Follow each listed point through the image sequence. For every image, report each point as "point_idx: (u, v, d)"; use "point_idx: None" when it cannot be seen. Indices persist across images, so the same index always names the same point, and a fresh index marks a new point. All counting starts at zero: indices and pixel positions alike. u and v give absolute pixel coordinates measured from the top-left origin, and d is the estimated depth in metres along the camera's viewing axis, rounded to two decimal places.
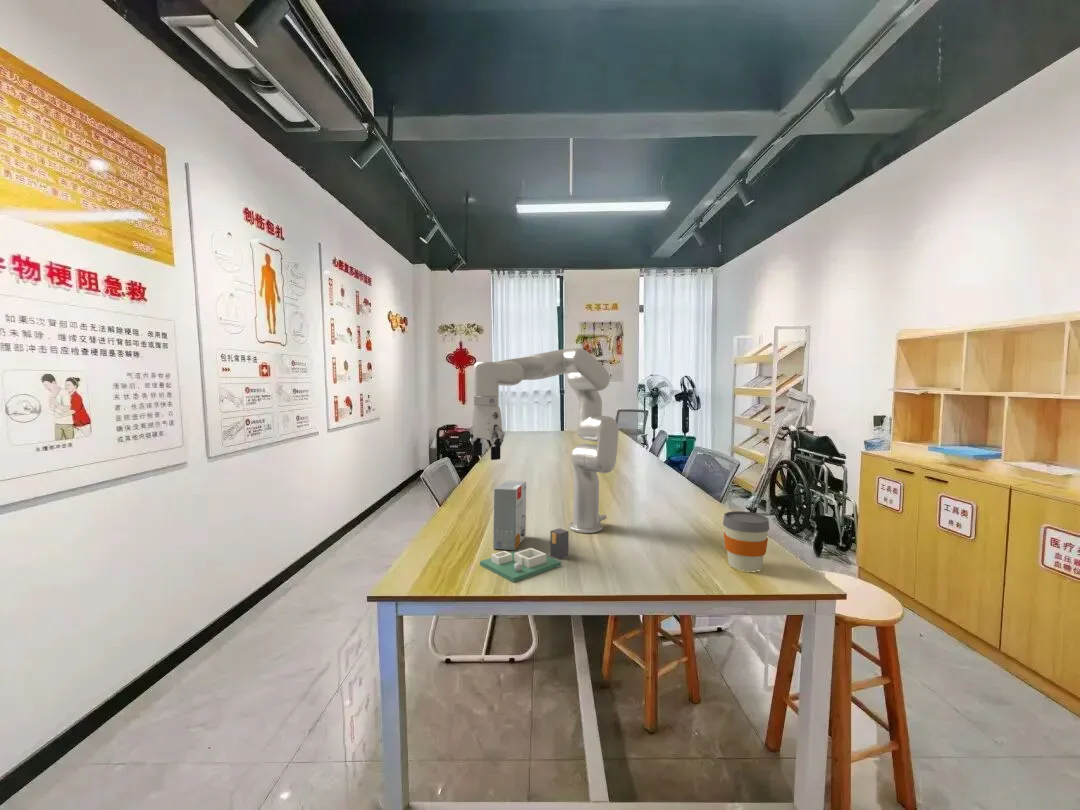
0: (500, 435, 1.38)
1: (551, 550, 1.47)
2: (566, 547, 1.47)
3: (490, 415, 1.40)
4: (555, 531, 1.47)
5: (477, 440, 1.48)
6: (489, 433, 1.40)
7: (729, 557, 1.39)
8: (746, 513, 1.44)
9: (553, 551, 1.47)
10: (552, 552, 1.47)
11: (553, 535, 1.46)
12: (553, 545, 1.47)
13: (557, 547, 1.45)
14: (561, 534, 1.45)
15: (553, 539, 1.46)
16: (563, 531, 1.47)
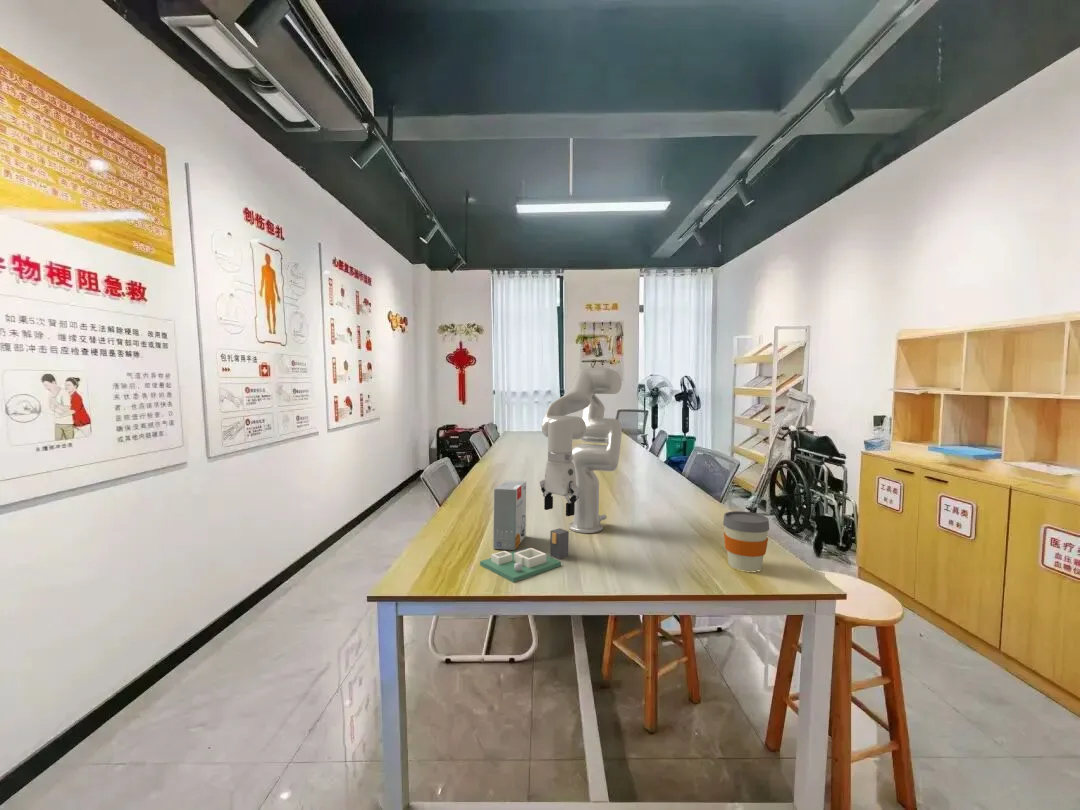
0: (576, 492, 1.40)
1: (551, 550, 1.47)
2: (566, 547, 1.47)
3: (566, 472, 1.42)
4: (555, 531, 1.47)
5: (548, 494, 1.50)
6: (565, 490, 1.42)
7: (729, 557, 1.39)
8: (746, 513, 1.44)
9: (553, 551, 1.47)
10: (552, 552, 1.47)
11: (553, 535, 1.46)
12: (553, 545, 1.47)
13: (557, 547, 1.45)
14: (561, 534, 1.45)
15: (553, 539, 1.46)
16: (563, 531, 1.47)
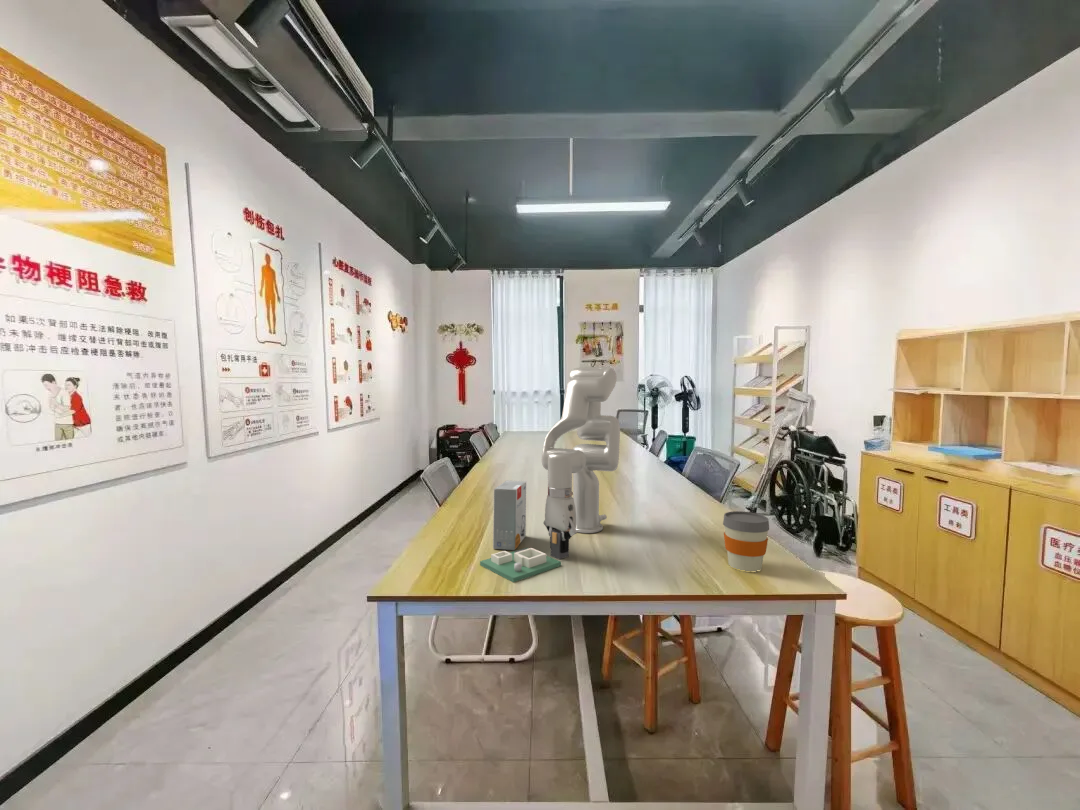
0: (572, 533, 1.42)
1: (551, 550, 1.47)
2: None
3: (566, 508, 1.42)
4: (555, 531, 1.47)
5: None
6: (565, 525, 1.42)
7: (729, 557, 1.39)
8: (746, 513, 1.44)
9: (553, 551, 1.47)
10: (552, 552, 1.47)
11: (553, 535, 1.46)
12: (553, 545, 1.47)
13: (557, 547, 1.45)
14: None
15: (553, 539, 1.46)
16: None
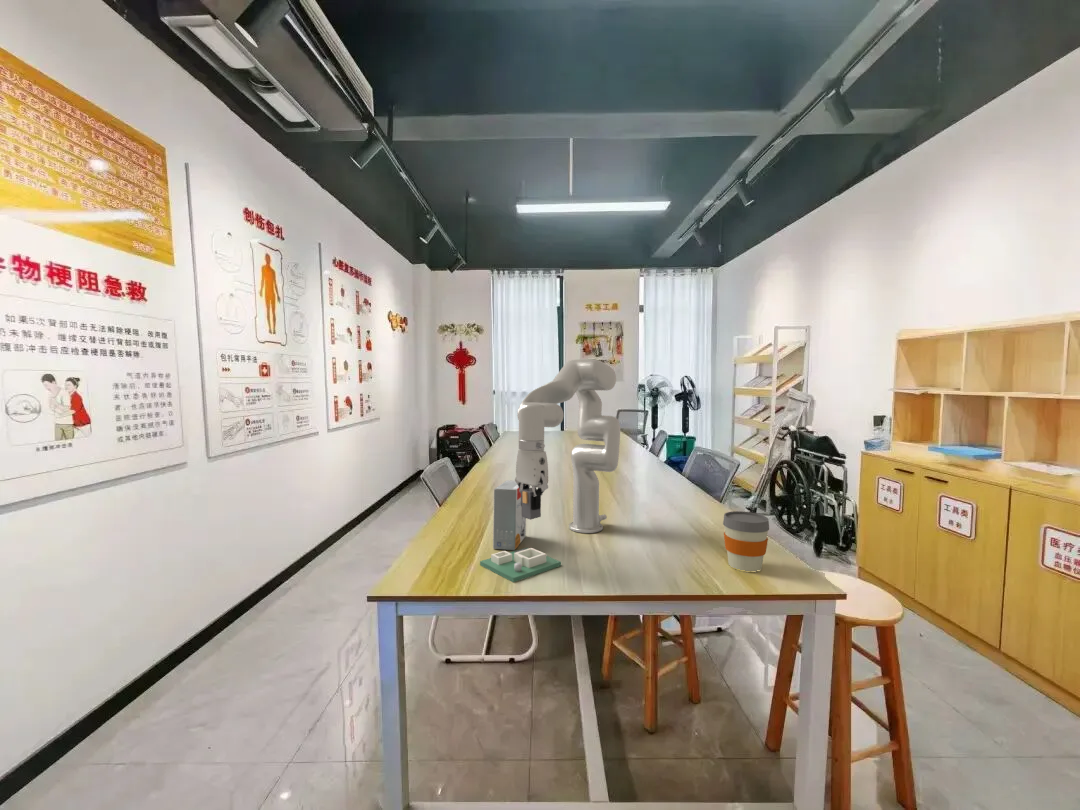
0: (543, 488, 1.34)
1: (522, 510, 1.39)
2: None
3: (537, 461, 1.34)
4: (526, 490, 1.38)
5: None
6: (536, 480, 1.34)
7: (729, 557, 1.39)
8: (746, 513, 1.44)
9: (524, 511, 1.38)
10: (523, 512, 1.38)
11: (524, 494, 1.37)
12: (524, 505, 1.38)
13: (528, 507, 1.37)
14: (532, 493, 1.36)
15: (524, 498, 1.37)
16: None
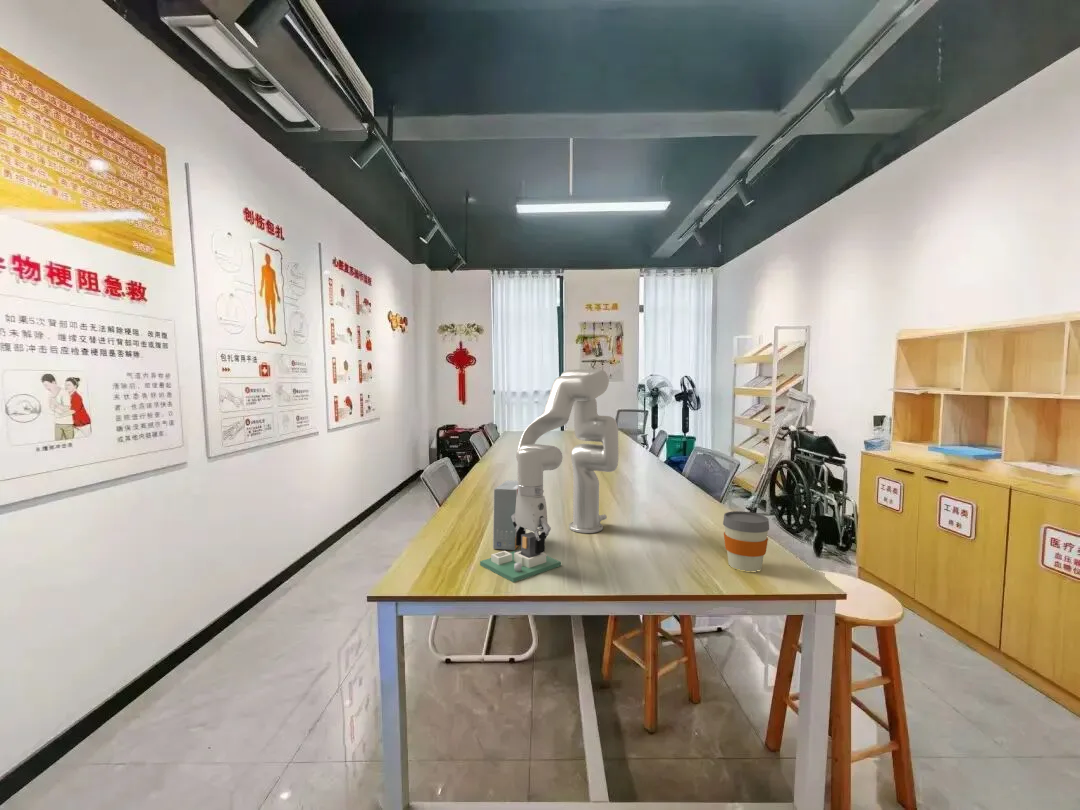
0: (546, 530, 1.33)
1: None
2: None
3: (536, 507, 1.34)
4: (526, 535, 1.39)
5: (520, 528, 1.43)
6: (535, 525, 1.34)
7: (729, 557, 1.39)
8: (746, 513, 1.44)
9: None
10: None
11: (524, 539, 1.38)
12: (524, 550, 1.39)
13: (527, 552, 1.37)
14: (532, 538, 1.37)
15: (524, 543, 1.38)
16: (534, 535, 1.39)
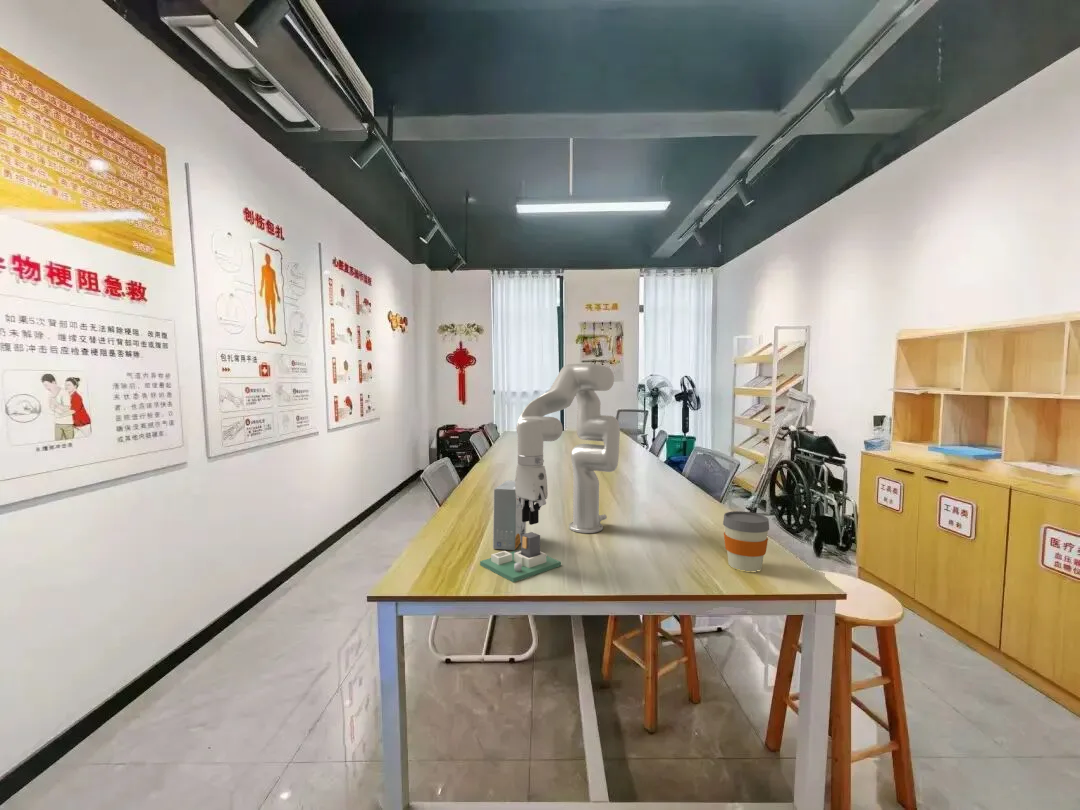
0: (541, 504, 1.34)
1: None
2: (537, 552, 1.39)
3: (536, 476, 1.34)
4: (526, 535, 1.39)
5: (526, 503, 1.40)
6: (535, 495, 1.34)
7: (729, 557, 1.39)
8: (746, 513, 1.44)
9: None
10: None
11: (524, 539, 1.38)
12: (524, 550, 1.39)
13: (527, 552, 1.37)
14: (532, 538, 1.37)
15: (524, 543, 1.38)
16: (534, 535, 1.39)
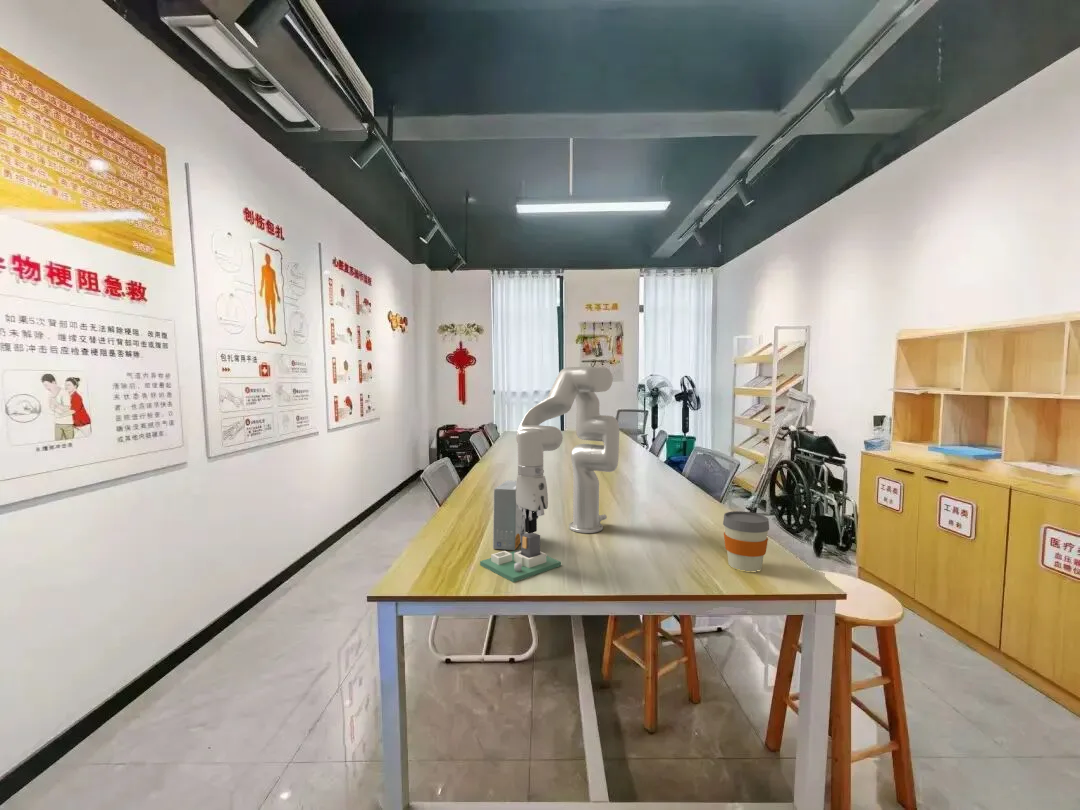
0: (539, 514, 1.35)
1: None
2: (537, 552, 1.39)
3: (536, 486, 1.34)
4: (526, 535, 1.39)
5: (529, 513, 1.40)
6: (535, 505, 1.34)
7: (729, 557, 1.39)
8: (746, 513, 1.44)
9: None
10: None
11: (524, 539, 1.38)
12: (524, 550, 1.39)
13: (527, 552, 1.37)
14: (532, 538, 1.37)
15: (524, 543, 1.38)
16: (534, 535, 1.39)
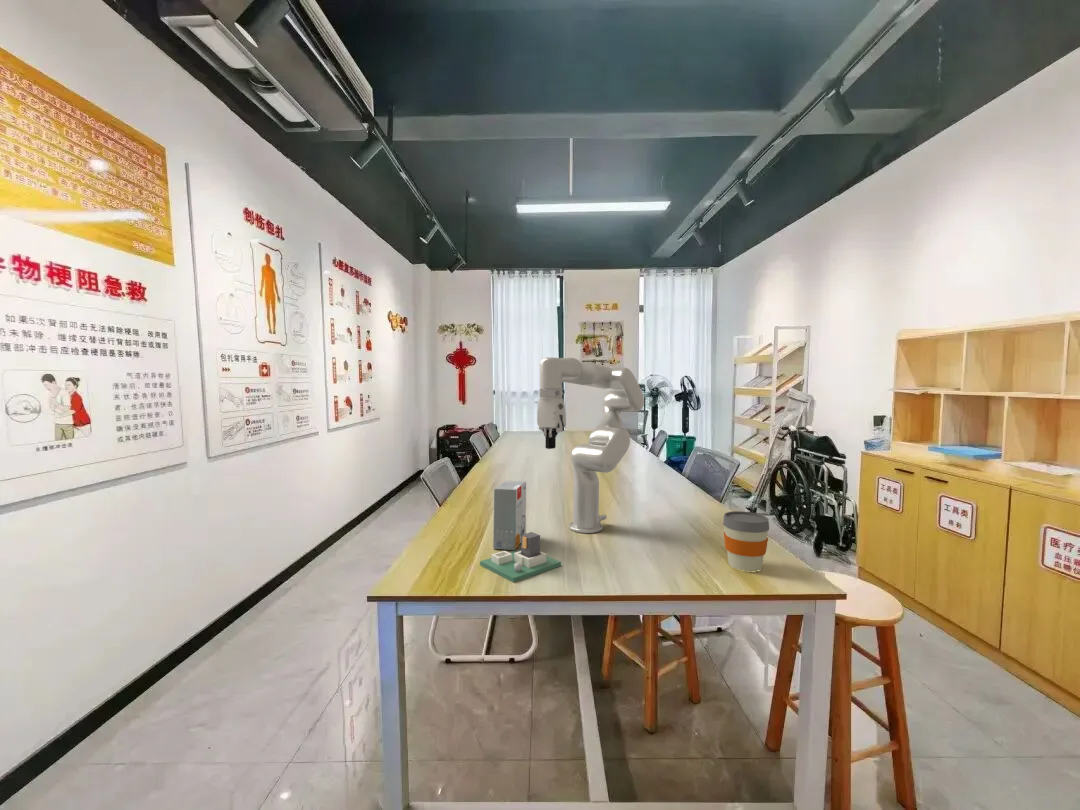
0: (558, 431, 1.56)
1: None
2: (537, 552, 1.39)
3: (556, 406, 1.55)
4: (526, 535, 1.39)
5: (548, 432, 1.60)
6: (555, 422, 1.55)
7: (729, 557, 1.39)
8: (746, 513, 1.44)
9: None
10: None
11: (524, 539, 1.38)
12: (524, 550, 1.39)
13: (527, 552, 1.37)
14: (532, 538, 1.37)
15: (524, 543, 1.38)
16: (534, 535, 1.39)
